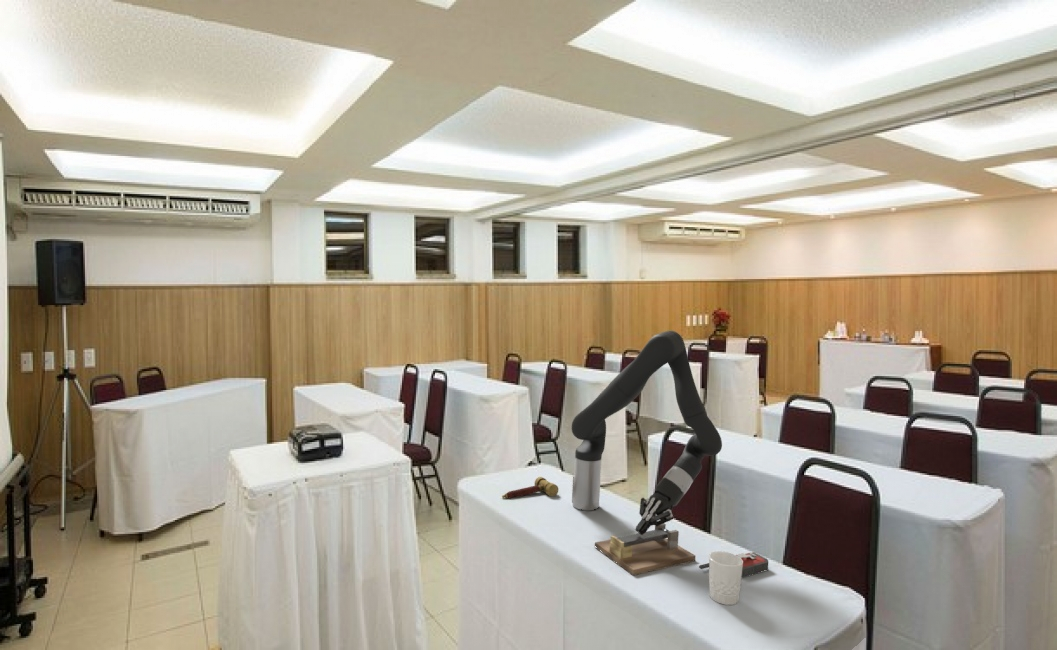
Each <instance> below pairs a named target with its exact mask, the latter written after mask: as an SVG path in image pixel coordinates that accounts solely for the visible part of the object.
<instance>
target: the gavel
mask: <svg viewBox="0 0 1057 650" xmlns="http://www.w3.org/2000/svg"><path fill="white" fill-rule="evenodd" d="M539 492H544V493H545V494H546V495H547V496H549V497H555V496H554V495H556V496H557V495H558V493H559V486H558V485H557V484H555V483H554V482H550V481H549V480H547V479H546V478H545V477H543V476H538V477H537V478H536V479H535V480H534V485H533V486H528V487H522V488H519V489H515V490H511V491H508V492H506V493H504V494H503V495H502V496H501V497H502V499H514V498H518V497H523V496H527V495H533V494H536V493H539Z"/></svg>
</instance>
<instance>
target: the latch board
mask: <svg viewBox="0 0 1057 650" xmlns="http://www.w3.org/2000/svg"><path fill="white" fill-rule="evenodd" d="M662 528H665V529H666V523H663V524H661V525H659V526H655V525H654V530H657V529H662ZM679 533H680V532H679V530H677V529H674V530H669V531H668V538H664V539H659V540H655V541H650V542H645V543H641V544H636V545H631V546H626V547H624V542H622V541H621V540H619V539H618V538H617V537H616V536H614V535H611V536H610V539H607V540H606V539H605V540H600V541H597V542H596V541H595V542H594V547H595V546H596V547H597V548H598V549H599V550H601V551H602V552H603V553H604V554H606V555H607V556H609V557H610V558H611V559H613V560H614V561H615V562H617V563H618V564H619V565H618V564H617V563H616V564H617V565H618V566H620V567H621V566H622V567H623V568H622V567H621V568H622V569H623V570H625V569H626V570H627V572H628V573H629V572H630V573H631V574H630V573H629V574H630V575H632V574H633V575H632V576H636V575H635V574H637V575H641V574H645V573H649V572H648V571H650V572H653V570H654V571H657V570H661V569H665V568H670V567H674V566H675V567H676V566H679V565H683V564H687V563H692V562H696V554H694V553H692V552H691V551H688V550H687V549H685V548H683V547H681V546H680V545H679V535H680V534H679ZM598 549H597V550H598ZM599 550H598V551H599ZM602 552H601V553H602ZM603 553H602V554H603ZM604 554H603V555H604ZM606 555H605V556H606ZM607 556H606V557H607ZM609 557H608V558H609ZM610 558H609V559H610ZM611 559H610V560H611ZM613 560H612V561H613ZM614 561H613V562H614ZM615 562H614V563H615ZM626 570H625V571H626ZM640 573H641V574H640Z"/></svg>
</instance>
